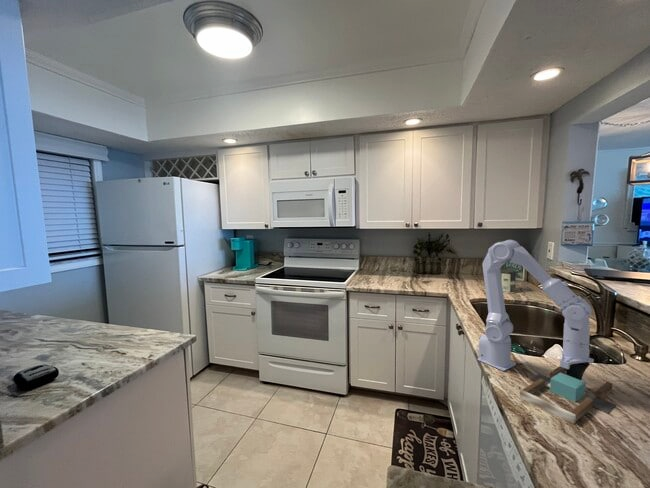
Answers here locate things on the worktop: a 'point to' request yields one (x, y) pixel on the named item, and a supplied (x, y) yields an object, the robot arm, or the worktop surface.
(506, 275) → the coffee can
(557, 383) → the teal block
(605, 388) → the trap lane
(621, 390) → the worktop surface
